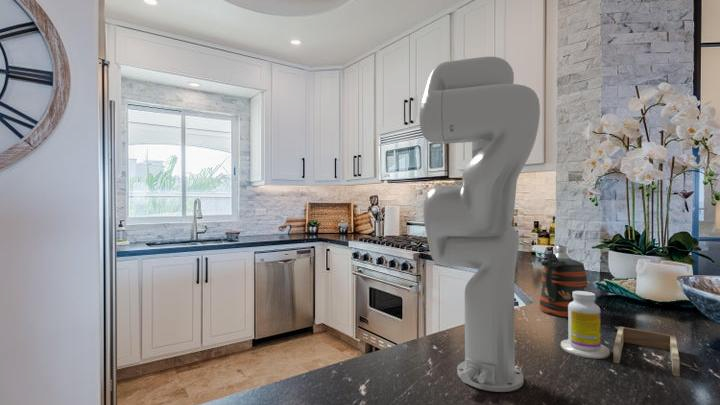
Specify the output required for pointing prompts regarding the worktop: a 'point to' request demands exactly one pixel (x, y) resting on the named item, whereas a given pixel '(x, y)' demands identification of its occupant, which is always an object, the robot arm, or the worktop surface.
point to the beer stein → (561, 284)
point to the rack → (647, 343)
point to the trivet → (598, 354)
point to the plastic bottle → (561, 251)
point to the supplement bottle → (584, 322)
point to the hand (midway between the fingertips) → (487, 222)
